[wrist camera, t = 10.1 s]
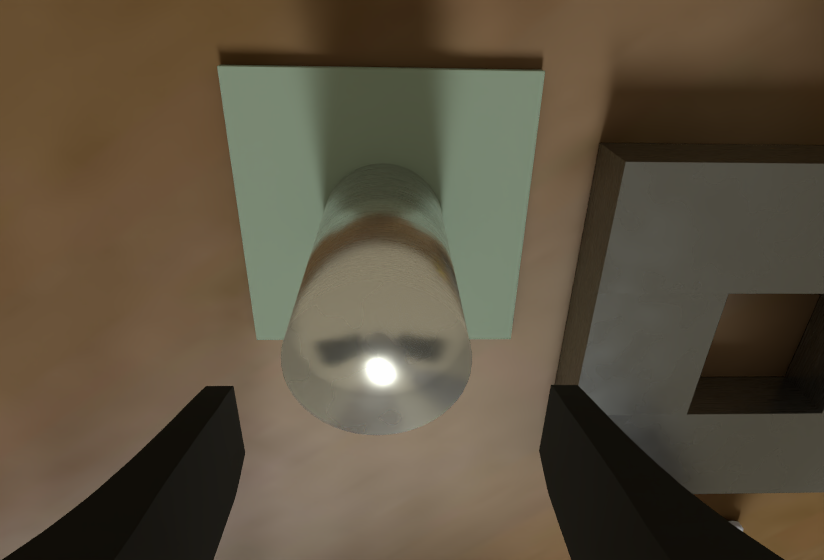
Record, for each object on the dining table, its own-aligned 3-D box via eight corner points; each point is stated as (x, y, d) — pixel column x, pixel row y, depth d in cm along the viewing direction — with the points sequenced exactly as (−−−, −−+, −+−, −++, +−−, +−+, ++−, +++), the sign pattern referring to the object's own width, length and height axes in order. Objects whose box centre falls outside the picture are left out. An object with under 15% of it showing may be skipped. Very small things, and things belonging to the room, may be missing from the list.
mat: (508, 333, 24) (510, 338, 23) (258, 334, 23) (256, 339, 23) (541, 69, 18) (545, 71, 18) (220, 64, 18) (217, 66, 18)
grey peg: (440, 272, 22) (466, 433, 14) (328, 273, 22) (291, 436, 14) (443, 163, 20) (477, 280, 12) (320, 163, 19) (269, 282, 12)
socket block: (844, 452, 28) (882, 491, 26) (541, 455, 27) (554, 495, 25) (1013, 147, 20) (1088, 166, 18) (599, 142, 20) (625, 161, 18)
